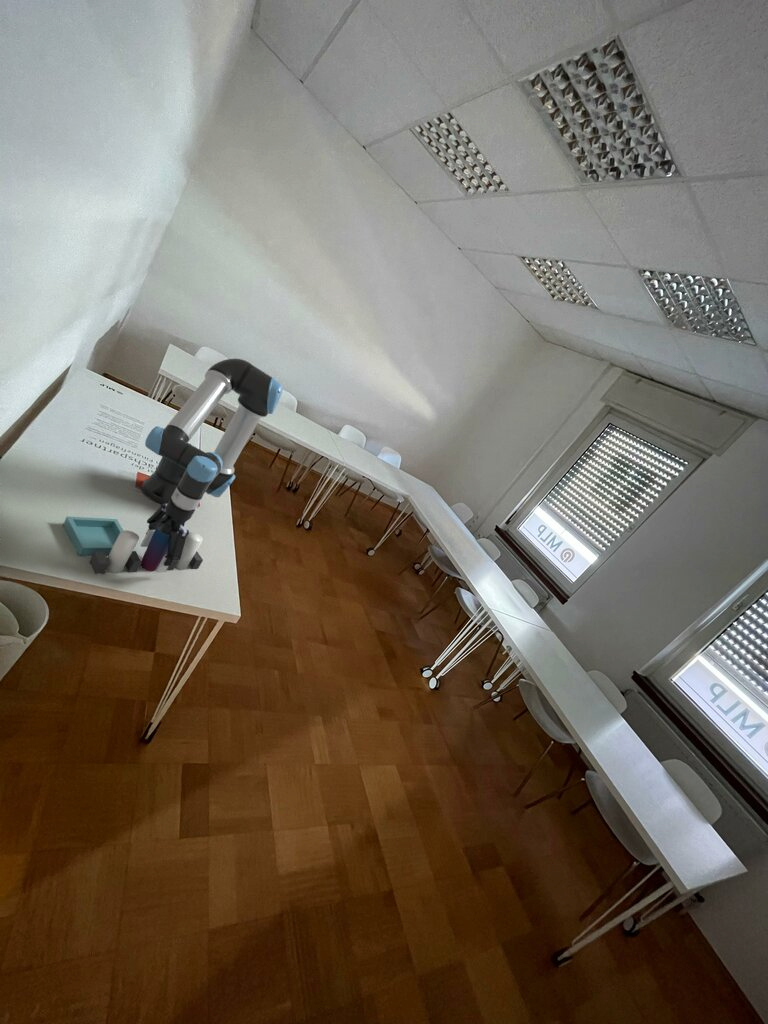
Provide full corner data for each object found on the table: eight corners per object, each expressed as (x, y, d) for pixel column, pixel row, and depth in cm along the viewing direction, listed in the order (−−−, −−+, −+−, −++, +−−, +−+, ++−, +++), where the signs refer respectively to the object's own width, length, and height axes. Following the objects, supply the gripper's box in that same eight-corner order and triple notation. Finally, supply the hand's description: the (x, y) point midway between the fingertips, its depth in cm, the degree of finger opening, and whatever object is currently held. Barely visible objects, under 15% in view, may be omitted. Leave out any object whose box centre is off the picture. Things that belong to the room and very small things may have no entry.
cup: (143, 555, 134) (162, 519, 130) (163, 565, 136) (183, 530, 132) (132, 566, 128) (153, 528, 124) (154, 576, 130) (175, 539, 126)
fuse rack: (191, 559, 147) (206, 532, 144) (197, 568, 145) (213, 542, 142) (88, 562, 119) (105, 529, 116) (94, 574, 117) (111, 541, 114)
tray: (112, 526, 137) (116, 519, 136) (129, 555, 131) (133, 547, 130) (62, 524, 125) (66, 516, 124) (78, 556, 119) (82, 547, 118)
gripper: (154, 478, 127) (125, 533, 133) (189, 528, 117) (156, 585, 123) (177, 481, 134) (149, 534, 140) (212, 529, 123) (180, 583, 129)
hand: (152, 558), depth 131 cm, fingers open, 11 cm apart
